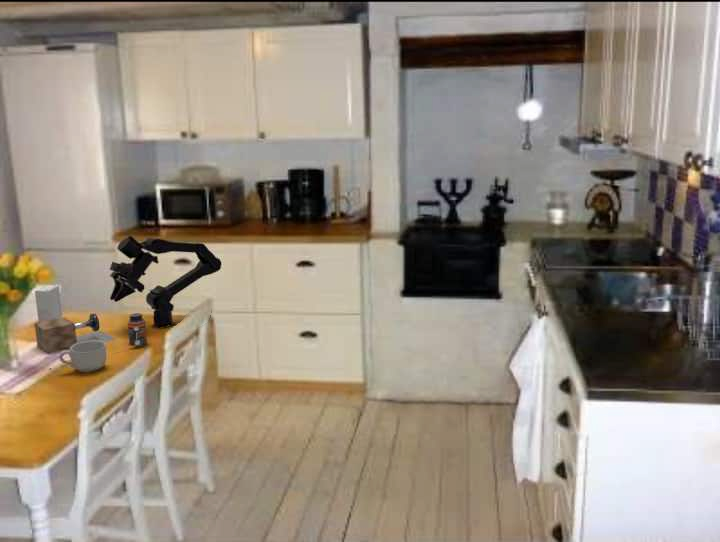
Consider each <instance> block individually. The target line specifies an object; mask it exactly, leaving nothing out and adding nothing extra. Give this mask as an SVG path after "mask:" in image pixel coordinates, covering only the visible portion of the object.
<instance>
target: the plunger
mask: <svg viewBox="0 0 720 542" xmlns="http://www.w3.org/2000/svg"><path fill="white" fill-rule="evenodd" d="M74 324H75V330H78V329H83V328H88V327H89V328H91V330H92V332H93V333H94V332H98V331H100V321H99V317H98V315H97V314H96V313H90V314H89V319H88V320H86V321H81V322H76V323H74Z"/></svg>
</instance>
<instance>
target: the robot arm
mask: <svg viewBox="0 0 720 542" xmlns="http://www.w3.org/2000/svg"><path fill="white" fill-rule="evenodd" d="M116 250H118V251H119V252H120V253H121V254H123V255H124V256H126V257H127V258H128V259H133V260H132V262H131V263H130V262H128V263H126V262H123V261H122V262H120V263H118V262H115V261H112V262H111V264H110V267H109V271H112V273H110V275H109V277H111V278H112V279H113V281H114V286H113V290H112V292H111V295H110V296H109V300H111V301H114V302H115V303H116V302H118V301H121V300H122V299H124V298H126V297H128V296H130V295H132V294H135V293H137V292H139V293H143V292H144V290H145V288H146V287H145V284H143V283H142V282H141V281H139V280H140V279H141V278H142V276H146V275H147V273H146V271H147V270H148V268H149V267H150V266H151V265H152V263H154V264H159V259H158V258H159V257H158V256H157V255H160V254H168V253H172V252H174V253H175V252H176V253H193V254H195V255H196V257H197V259H198V262H197V263H196V265H195V267H194V268H192V269H190V270H189V271H188V272H186V273H185V274H183V275H182V276H180V277H179V278H177V279H175V280H173V281H172V282H171V283H169V284H168V285H166V286H162V285H156V286H155V287H154V288H153V289H150V290H149V292H148V293H147V295H146V297H145V301H146V303H147V304H148V305H149V306H150V308H151V310H153V317H152V318H153V324H151V327H154V326H157V327H156V328H160V327H166V326H168V325H171V326H173V325H172V324H174V325H176V324H177V323H176V322H174V321H173V313H172V312H173V310H174V307H175V305H174V304H173V303H171V301H172V299H173V298H174V296H176V295H177V294H178V293H180V292H181V291H183V290H184V289H186V288H187V287H189V286H190V285H193V283H195V282H197V281H198V280H200V279H201V278H202V277H205V276H209V275H212V274H214V273H217V272H219V271H220V270H221V269H222V261H221V259H220V258H218V257H216V255H215V254H214V253H213V252H212V251H211V250H209V248H208V247H207V246H206V245H205V243H202V242H201V243H200V242H187V241H186V242H184V241H172V240H171V241H170V240H166V239H161V238H159V237H157V238H156V237H153V236H151V237H148V238H147V239H146V240H145V241H141V242H138V241H137V240H136V239H135V237H134V236H132V235H128V236H127V237H125V238H124V239H123V240H122V241H120V242H119V243H118V245H117V248H116ZM145 251H146V252H145ZM151 253H153V254H155V255H153V254H151ZM168 327H169V326H168ZM166 328H167V327H166Z"/></svg>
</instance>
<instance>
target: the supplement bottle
mask: <svg viewBox="0 0 720 542" xmlns="http://www.w3.org/2000/svg"><path fill="white" fill-rule="evenodd" d="M146 325H147V324H146V320H145V319H143V315H142V313H139V312H138V313H131V314H130V315H129V320H128V322H127V331H128V343H129V345H130V346H134V347H133V348H135V349H137V348H143V347H145V346H147V345H148V337H147V328H146V327H147V326H146Z"/></svg>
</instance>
